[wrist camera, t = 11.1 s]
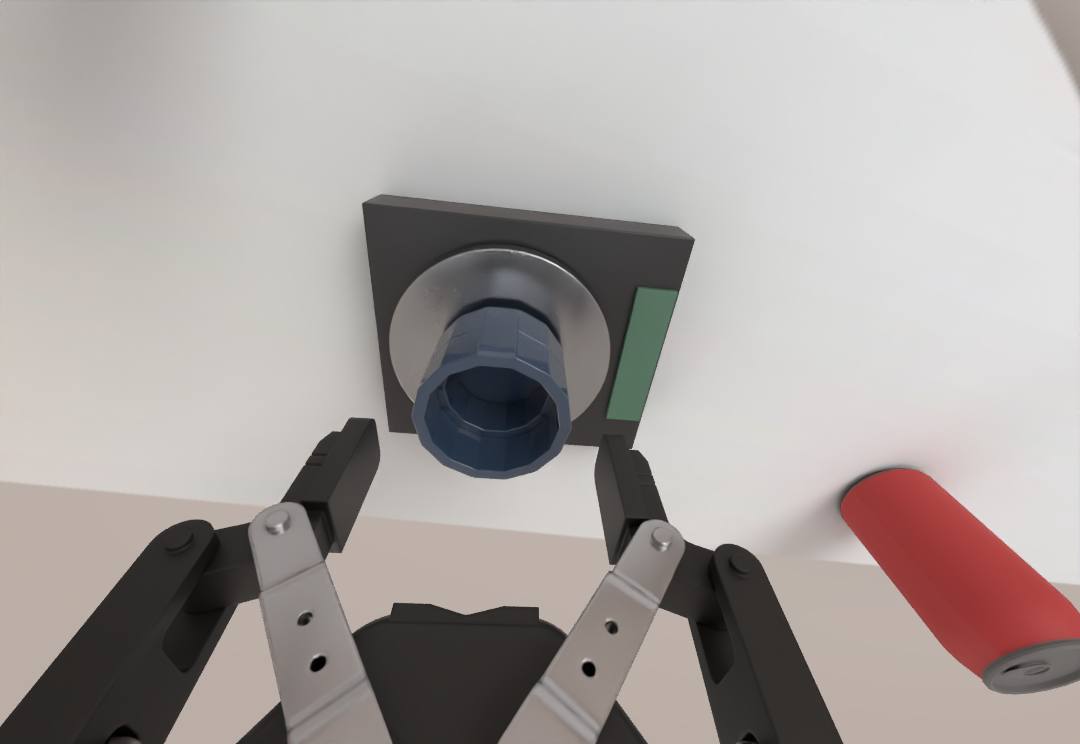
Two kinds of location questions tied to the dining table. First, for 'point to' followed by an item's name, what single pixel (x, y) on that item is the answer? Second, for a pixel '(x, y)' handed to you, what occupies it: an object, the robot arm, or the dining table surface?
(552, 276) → the platter
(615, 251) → the scale
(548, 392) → the cup
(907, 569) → the beer can
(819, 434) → the dining table surface
